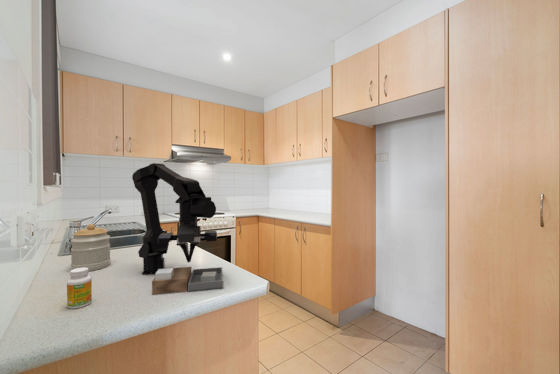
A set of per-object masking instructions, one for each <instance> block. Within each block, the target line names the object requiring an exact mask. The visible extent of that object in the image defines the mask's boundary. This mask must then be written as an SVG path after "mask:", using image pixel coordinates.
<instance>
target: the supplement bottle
mask: <svg viewBox="0 0 560 374" xmlns="http://www.w3.org/2000/svg"><path fill="white" fill-rule="evenodd" d="M69 276H70V278H68V280H67V281H66V305H67V308H68V309H72V310H73V309H80V308H83V307H86V306H89V305H90V304H91V303H92V294H93V293H92V288H93V287H92V276H91V275H89V271H88V268H77V269H73V270H72V269H70V271H69Z"/></svg>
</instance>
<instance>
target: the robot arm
mask: <svg viewBox="0 0 560 374" xmlns="http://www.w3.org/2000/svg"><path fill="white" fill-rule="evenodd" d="M131 178H132V181H133V184H134V185H133V186H134V188H135V189H136V190H137V192H139V194H140V197H141V205H142V209H143V216H144V222H145V223H144V224H145V230H146V231H145V232H144V236H143V237H142V240H143V241H142V243H143V244H142V245H141V247H140V248H139V250H138V251H137V254H138V257H139V258H142V260H143V271H142V273H141V274H142V275H152V274H155V273H156V272H157V271H158V269H166V268H165V257H164V255H165V254H167V253H168V250H169V245H170V242H171V241H172V242H173V241H176V246H179V247H180V248H181V250H182V252H183V254H184V256H185V259H186V262H187V263H191V261H192V257H193V254H194V251H195V248H196V246H197V245H200V243H201V240H205V241H206V242H217V240H218V232H217V231H216V230H214V229H213V230H205V232H203V233H202V230H201V225H198V218H199V219H200V218H204V219H211V218H213V217H214V216H215V215H216V212H217V207H216V204H215V202H214V201H213V200H212V197H211V196H206V194H205V193H204V191H203V189H202V187H201V185H200V182H199V181H198V180H196V179H193V178H189V177H184V176H182V175H180V174H178V173H177V172H176V171H174V170H172V169H170V168H169V167H168V166H166V165H165V164H164V163H158V162H157V163H156V162H155V163H154V162H153V163H150V164H149V165H146V166H144V167H141V168H138V169H136V170H135V171H134V172H133V174H132V175H131ZM159 180H162V181H164V182H165V183H166V184H168V185H169V186H170V187H172V191H173V192H174V193H175V194H176V195H177V196H178V198H177V199H176V200H175V202H174V203H175V204H178V205H179V226H178V228H177V234H174V232H168V230H164V229H163V227H162V226H161V221H160V215H159V208H158V202H157V196H156V189H157V187H158V185H159Z"/></svg>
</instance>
